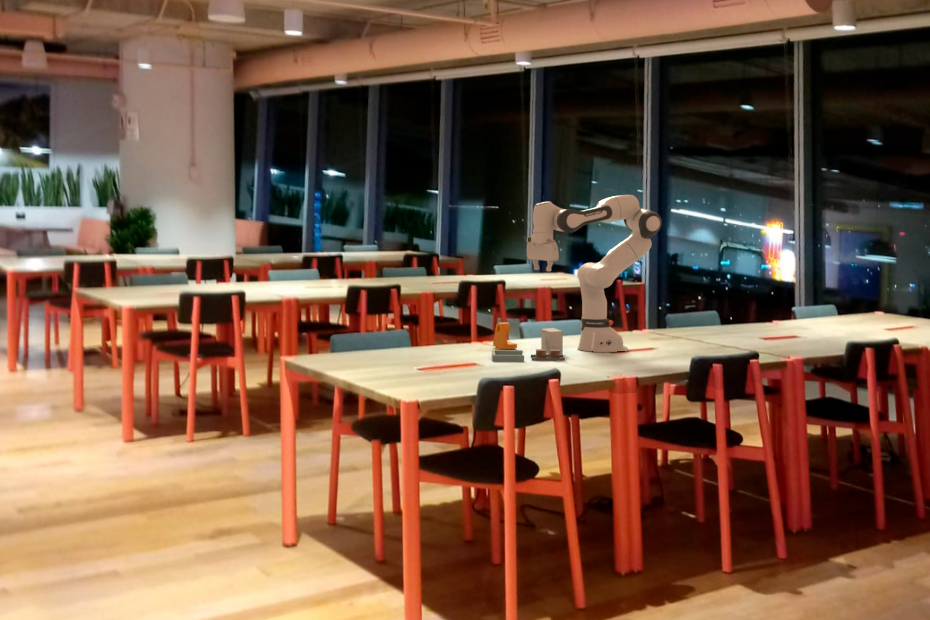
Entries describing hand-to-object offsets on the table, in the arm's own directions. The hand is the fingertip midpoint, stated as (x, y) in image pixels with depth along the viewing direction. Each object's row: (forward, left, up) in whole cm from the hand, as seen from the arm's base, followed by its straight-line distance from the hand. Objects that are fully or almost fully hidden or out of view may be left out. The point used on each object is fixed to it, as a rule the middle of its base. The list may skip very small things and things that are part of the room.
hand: (542, 270), depth 450 cm
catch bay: (+15, +19, -36) cm, 44 cm away
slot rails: (-1, +19, -36) cm, 41 cm away
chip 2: (-4, +19, -36) cm, 41 cm away
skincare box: (-4, +2, -37) cm, 37 cm away
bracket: (+16, -10, -37) cm, 41 cm away
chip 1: (+2, +19, -36) cm, 41 cm away
